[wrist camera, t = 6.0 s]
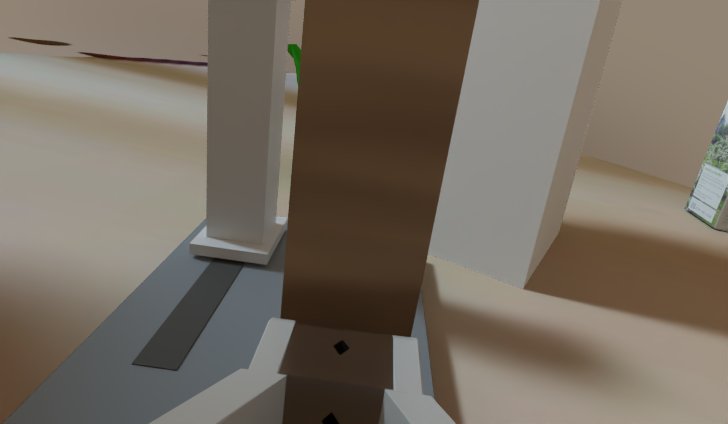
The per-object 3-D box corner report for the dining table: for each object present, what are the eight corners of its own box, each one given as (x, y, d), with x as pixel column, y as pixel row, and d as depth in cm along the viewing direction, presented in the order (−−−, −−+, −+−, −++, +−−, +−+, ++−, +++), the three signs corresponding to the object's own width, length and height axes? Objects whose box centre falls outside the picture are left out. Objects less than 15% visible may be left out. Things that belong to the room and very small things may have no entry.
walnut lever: (396, 543, 12) (555, -135, 6) (237, 521, 12) (270, -174, 6) (393, 397, 16) (486, -65, 11) (280, 381, 16) (320, -88, 11)
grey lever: (266, 265, 24) (286, -48, 19) (189, 253, 24) (187, -62, 19) (286, 226, 28) (307, -32, 23) (222, 217, 28) (228, -43, 23)
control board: (449, 633, 11) (470, 569, 10) (-85, 557, 11) (-110, 486, 10) (411, 258, 30) (418, 224, 29) (211, 229, 30) (212, 194, 29)
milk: (430, 193, 43) (496, -144, 34) (558, 232, 38) (679, -153, 28) (362, 229, 33) (428, -233, 24) (522, 289, 28) (688, -272, 19)
